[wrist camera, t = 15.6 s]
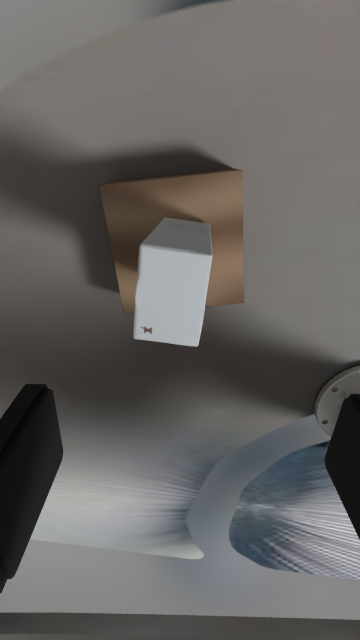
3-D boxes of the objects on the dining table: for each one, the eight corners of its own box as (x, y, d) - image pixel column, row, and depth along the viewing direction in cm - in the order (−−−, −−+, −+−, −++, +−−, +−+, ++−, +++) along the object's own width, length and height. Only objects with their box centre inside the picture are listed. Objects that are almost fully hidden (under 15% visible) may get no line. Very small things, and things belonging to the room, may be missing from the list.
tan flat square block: (235, 285, 36) (243, 302, 32) (130, 295, 37) (124, 314, 32) (232, 168, 31) (242, 169, 26) (110, 181, 31) (98, 185, 27)
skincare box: (201, 286, 31) (198, 351, 20) (157, 280, 31) (130, 341, 20) (212, 221, 28) (214, 254, 17) (163, 214, 28) (135, 243, 17)
